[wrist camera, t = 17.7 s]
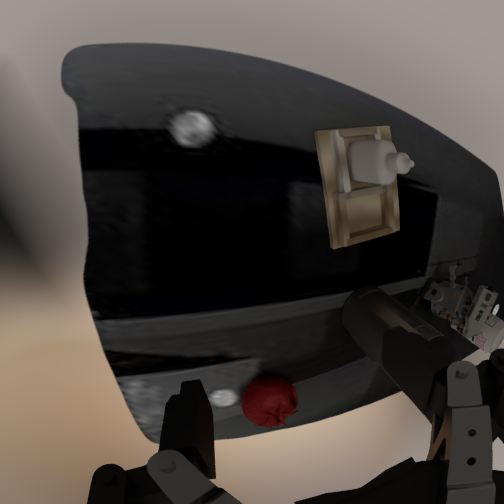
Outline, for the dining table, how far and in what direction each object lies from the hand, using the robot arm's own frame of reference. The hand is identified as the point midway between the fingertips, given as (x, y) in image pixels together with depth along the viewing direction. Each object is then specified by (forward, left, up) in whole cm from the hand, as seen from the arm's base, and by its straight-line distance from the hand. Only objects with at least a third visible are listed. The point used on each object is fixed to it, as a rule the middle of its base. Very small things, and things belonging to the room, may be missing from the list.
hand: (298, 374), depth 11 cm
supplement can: (-33, -51, -28) cm, 67 cm away
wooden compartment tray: (+2, -21, -28) cm, 35 cm away
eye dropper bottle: (+6, -20, -27) cm, 34 cm away
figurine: (-22, -40, -28) cm, 54 cm away
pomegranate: (-30, 0, -28) cm, 41 cm away
